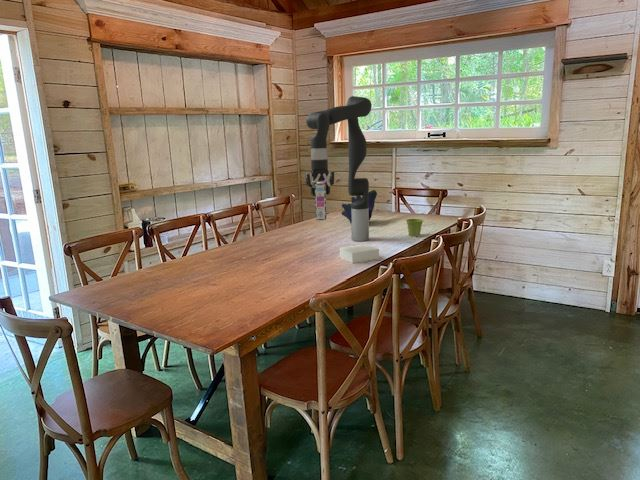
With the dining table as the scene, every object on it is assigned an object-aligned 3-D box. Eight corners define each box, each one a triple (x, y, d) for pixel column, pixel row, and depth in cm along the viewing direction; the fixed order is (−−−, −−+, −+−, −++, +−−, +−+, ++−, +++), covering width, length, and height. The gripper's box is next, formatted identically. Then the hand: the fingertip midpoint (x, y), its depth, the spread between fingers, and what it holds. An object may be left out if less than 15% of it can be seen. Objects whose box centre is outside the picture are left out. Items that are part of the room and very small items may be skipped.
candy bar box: (326, 220, 213) (325, 184, 210) (315, 220, 213) (314, 184, 210) (326, 215, 224) (325, 181, 221) (316, 216, 224) (314, 181, 221)
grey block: (339, 258, 222) (339, 247, 220) (365, 254, 227) (365, 244, 226) (352, 264, 211) (352, 253, 210) (379, 259, 217) (378, 248, 216)
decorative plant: (349, 240, 297) (347, 219, 324) (387, 224, 292) (382, 204, 318) (335, 213, 288) (334, 194, 315) (374, 196, 283) (370, 178, 309)
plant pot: (424, 234, 264) (425, 218, 262) (420, 237, 256) (421, 222, 254) (408, 233, 268) (408, 218, 266) (404, 236, 260) (404, 221, 258)
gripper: (329, 157, 219) (331, 193, 223) (301, 159, 213) (303, 195, 217) (337, 157, 212) (338, 194, 216) (308, 159, 206) (309, 197, 210)
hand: (320, 195), depth 217 cm, fingers closed on candy bar box, 6 cm apart
